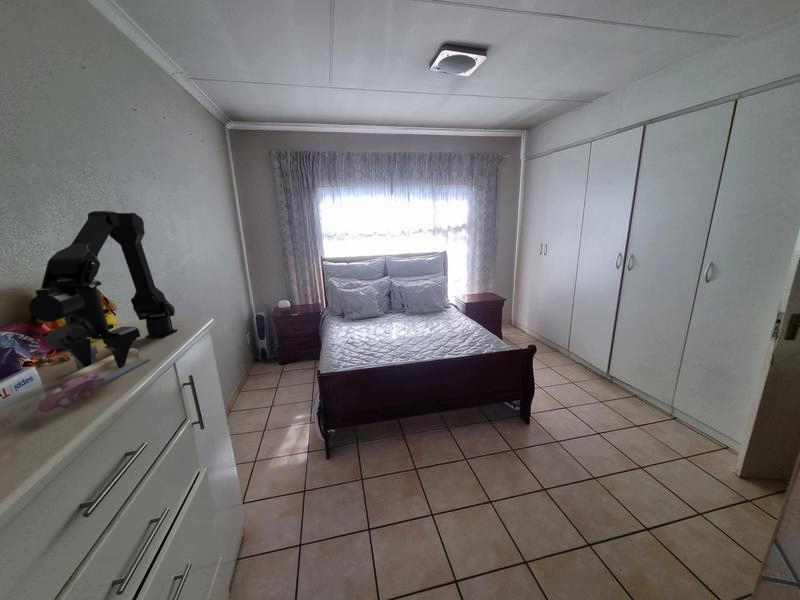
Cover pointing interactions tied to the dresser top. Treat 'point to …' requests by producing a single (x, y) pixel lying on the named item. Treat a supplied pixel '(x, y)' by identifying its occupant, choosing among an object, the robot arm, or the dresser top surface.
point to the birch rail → (103, 366)
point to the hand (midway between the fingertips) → (104, 367)
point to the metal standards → (93, 357)
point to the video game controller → (71, 392)
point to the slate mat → (123, 370)
